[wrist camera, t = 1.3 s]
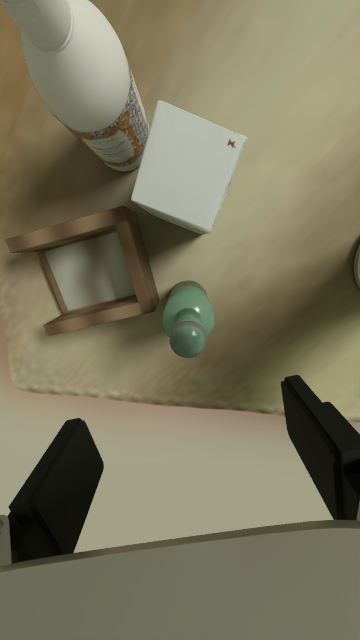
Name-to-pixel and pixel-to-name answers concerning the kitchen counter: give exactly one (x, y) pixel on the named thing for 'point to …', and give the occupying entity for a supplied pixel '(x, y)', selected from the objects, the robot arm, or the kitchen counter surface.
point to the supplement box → (186, 168)
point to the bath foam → (83, 76)
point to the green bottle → (188, 319)
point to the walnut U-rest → (94, 268)
